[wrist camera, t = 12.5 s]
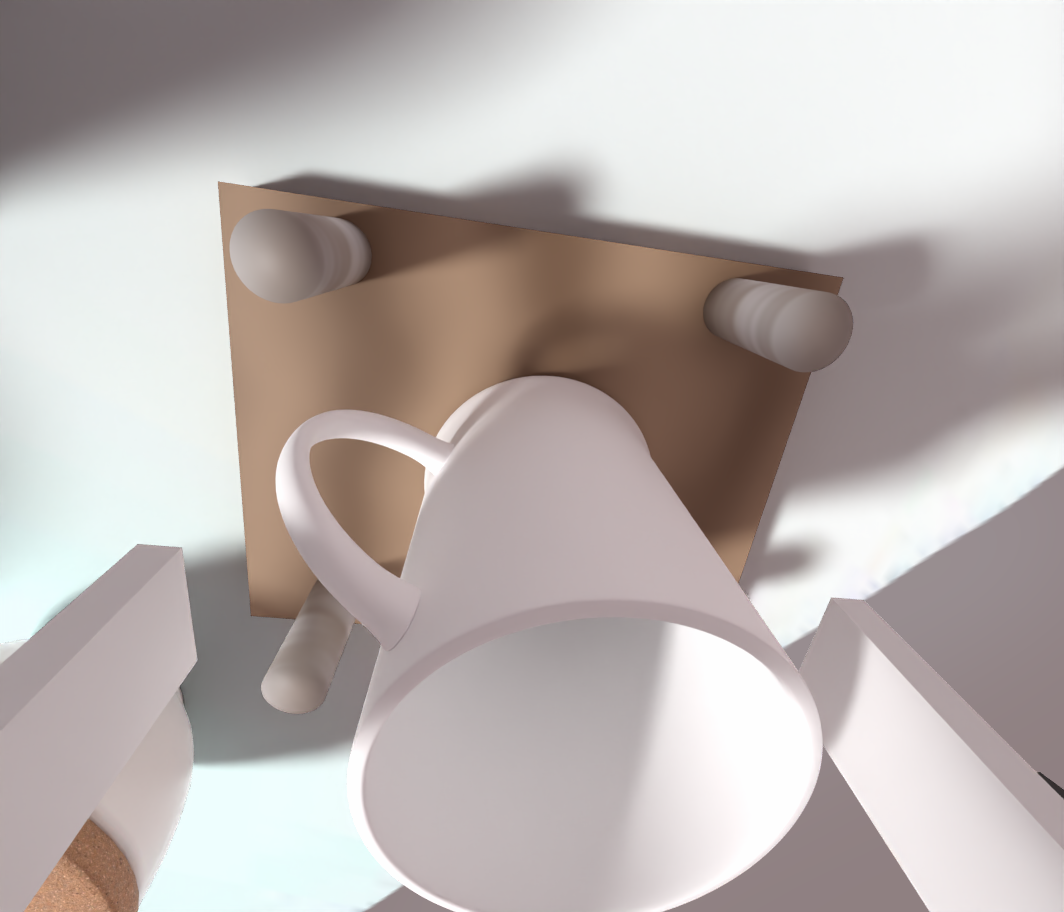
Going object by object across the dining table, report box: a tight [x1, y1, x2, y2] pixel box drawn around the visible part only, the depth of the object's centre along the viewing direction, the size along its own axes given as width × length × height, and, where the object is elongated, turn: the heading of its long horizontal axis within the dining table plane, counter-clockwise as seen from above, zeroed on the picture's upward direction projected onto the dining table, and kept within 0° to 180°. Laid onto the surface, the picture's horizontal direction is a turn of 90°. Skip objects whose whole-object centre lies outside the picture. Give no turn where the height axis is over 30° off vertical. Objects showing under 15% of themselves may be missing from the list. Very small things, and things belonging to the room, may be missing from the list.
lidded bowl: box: [0, 639, 194, 912], centre depth 20 cm, size 13×13×11 cm
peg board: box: [218, 182, 853, 714], centre depth 18 cm, size 20×16×7 cm
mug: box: [276, 376, 823, 912], centre depth 14 cm, size 12×8×12 cm
